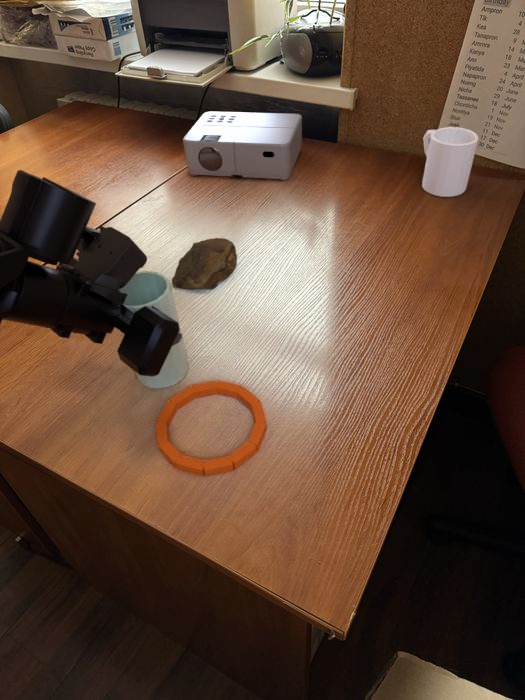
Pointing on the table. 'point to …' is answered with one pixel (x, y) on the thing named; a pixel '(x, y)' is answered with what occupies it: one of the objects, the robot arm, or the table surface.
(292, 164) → the projector
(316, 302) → the table surface
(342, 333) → the table surface
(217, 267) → the decorative stone
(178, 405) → the ring
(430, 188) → the mug
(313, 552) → the table surface
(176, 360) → the cup
